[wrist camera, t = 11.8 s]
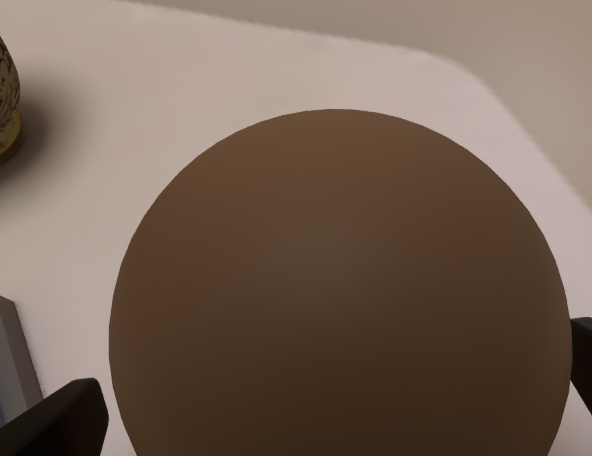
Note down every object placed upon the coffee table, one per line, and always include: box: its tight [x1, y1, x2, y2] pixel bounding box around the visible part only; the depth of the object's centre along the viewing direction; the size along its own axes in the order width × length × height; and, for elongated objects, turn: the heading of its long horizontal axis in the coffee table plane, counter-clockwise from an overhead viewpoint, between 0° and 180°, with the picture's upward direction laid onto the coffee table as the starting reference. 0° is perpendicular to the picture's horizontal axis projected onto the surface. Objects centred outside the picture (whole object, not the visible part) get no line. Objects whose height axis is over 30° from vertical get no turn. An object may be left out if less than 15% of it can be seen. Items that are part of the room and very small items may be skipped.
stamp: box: [109, 109, 572, 456], centre depth 9 cm, size 6×6×14 cm
